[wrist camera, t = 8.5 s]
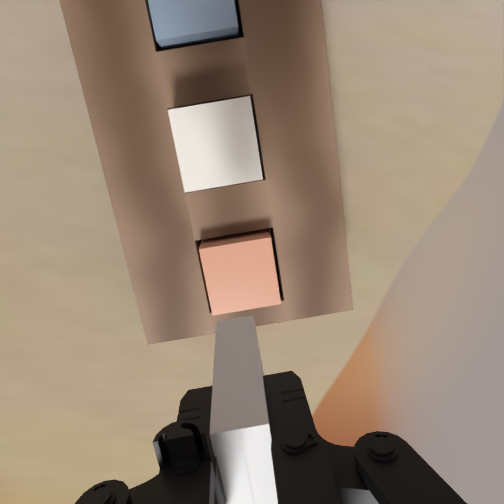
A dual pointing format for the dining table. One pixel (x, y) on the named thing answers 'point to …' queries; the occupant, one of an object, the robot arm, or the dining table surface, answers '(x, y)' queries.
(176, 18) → the slate blue key
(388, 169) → the dining table surface
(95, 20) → the key panel
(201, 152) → the white key
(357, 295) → the dining table surface
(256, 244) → the terracotta key
